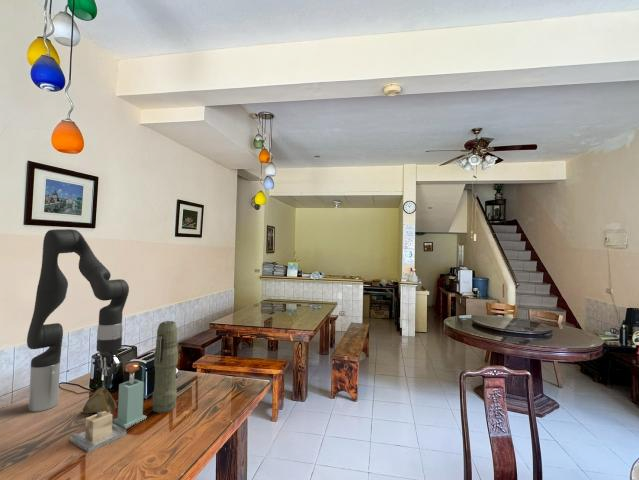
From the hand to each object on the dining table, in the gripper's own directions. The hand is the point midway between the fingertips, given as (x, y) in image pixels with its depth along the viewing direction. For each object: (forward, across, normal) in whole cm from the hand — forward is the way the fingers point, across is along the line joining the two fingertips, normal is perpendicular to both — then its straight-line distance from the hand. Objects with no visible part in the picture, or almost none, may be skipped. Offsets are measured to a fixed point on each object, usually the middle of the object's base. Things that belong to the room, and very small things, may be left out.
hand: (107, 385), depth 114 cm
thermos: (+17, 0, +23) cm, 28 cm away
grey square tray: (+17, +1, -2) cm, 17 cm away
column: (+17, -2, +10) cm, 19 cm away
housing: (+16, 0, -2) cm, 16 cm away
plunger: (+9, -2, +10) cm, 13 cm away
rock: (+17, -20, +7) cm, 27 cm away
